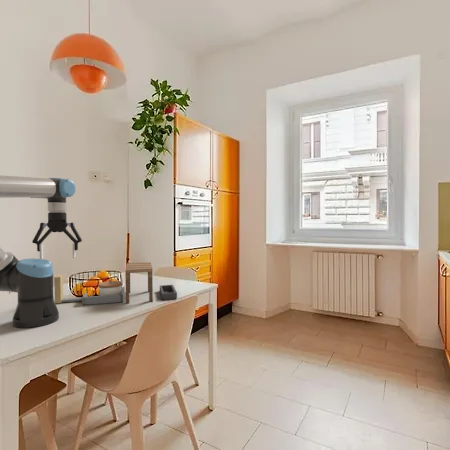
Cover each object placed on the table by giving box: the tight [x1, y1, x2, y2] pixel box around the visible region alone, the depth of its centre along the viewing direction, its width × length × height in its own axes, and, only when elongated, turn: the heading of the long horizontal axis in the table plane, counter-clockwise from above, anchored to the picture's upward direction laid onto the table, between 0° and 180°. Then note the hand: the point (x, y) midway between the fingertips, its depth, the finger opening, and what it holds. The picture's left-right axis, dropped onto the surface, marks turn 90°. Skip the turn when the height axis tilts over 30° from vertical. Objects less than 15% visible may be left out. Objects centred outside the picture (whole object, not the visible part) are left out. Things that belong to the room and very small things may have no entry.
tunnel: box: [124, 261, 154, 304], centre depth 154 cm, size 21×12×16 cm, turn 16°
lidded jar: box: [98, 279, 123, 296], centre depth 150 cm, size 11×11×9 cm
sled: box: [53, 274, 126, 306], centre depth 148 cm, size 16×30×12 cm, turn 106°
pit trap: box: [159, 284, 178, 301], centre depth 158 cm, size 18×7×3 cm, turn 16°
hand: (58, 258), depth 144 cm, fingers open, 13 cm apart
